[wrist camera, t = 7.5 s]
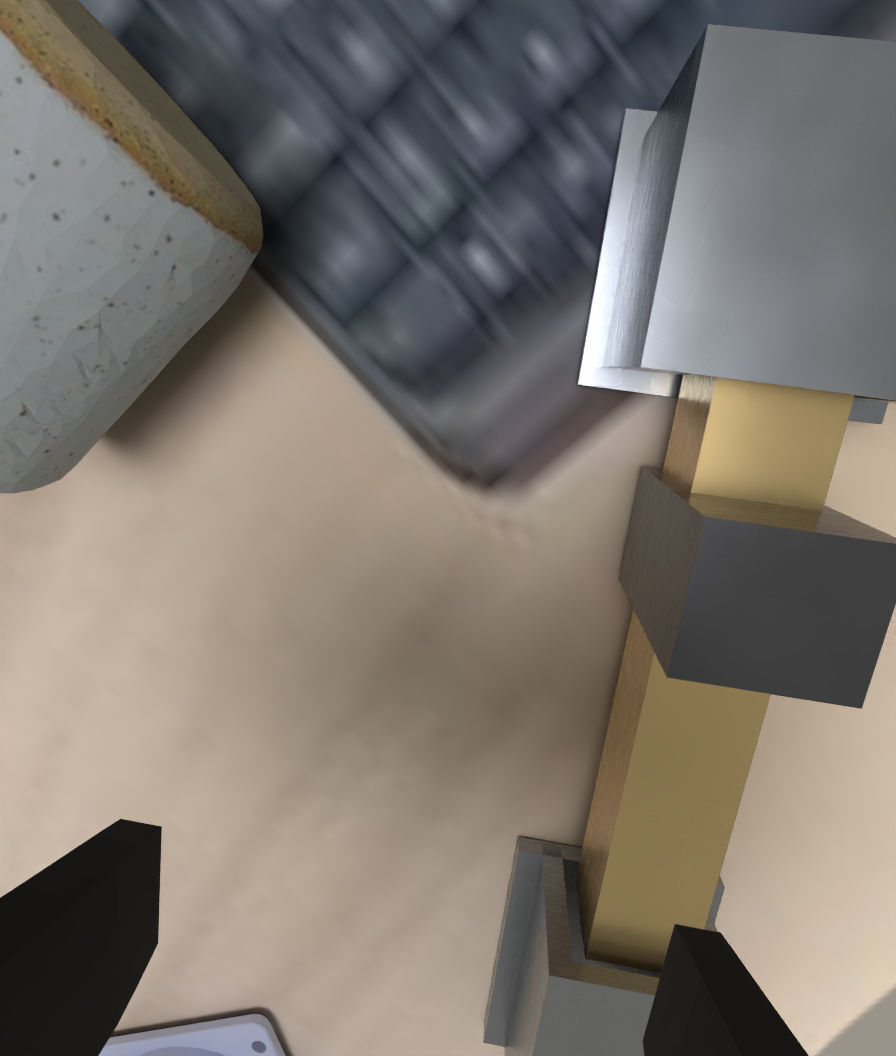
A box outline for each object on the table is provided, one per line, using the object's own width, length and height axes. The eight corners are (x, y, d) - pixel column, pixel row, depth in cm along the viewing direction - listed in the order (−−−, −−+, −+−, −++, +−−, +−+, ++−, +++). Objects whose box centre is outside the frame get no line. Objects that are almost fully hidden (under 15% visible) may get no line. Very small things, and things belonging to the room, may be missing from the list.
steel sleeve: (665, 1059, 21) (704, 1238, 17) (484, 1024, 22) (476, 1190, 17) (718, 871, 19) (777, 1018, 15) (518, 836, 20) (520, 969, 15)
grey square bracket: (870, 422, 16) (1045, 451, 11) (576, 383, 16) (605, 392, 11) (949, 150, 14) (1198, 28, 9) (622, 117, 15) (681, -18, 10)
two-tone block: (676, 884, 19) (739, 1086, 14) (560, 863, 19) (577, 1054, 14) (837, 270, 15) (1021, 217, 9) (685, 252, 15) (780, 190, 10)
